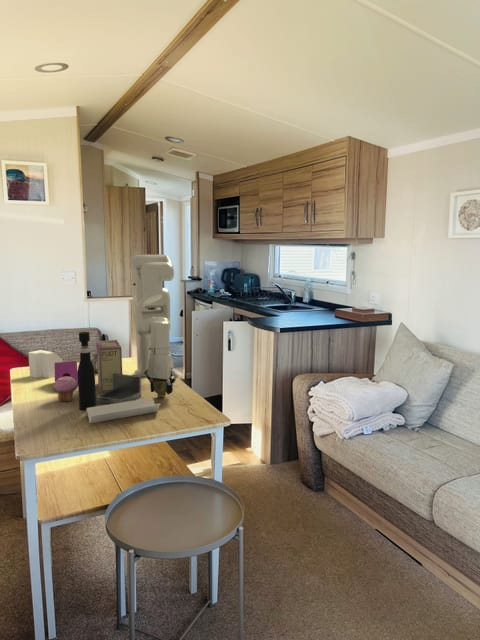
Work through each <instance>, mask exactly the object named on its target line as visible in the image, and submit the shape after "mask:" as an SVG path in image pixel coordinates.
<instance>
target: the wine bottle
mask: <svg viewBox="0 0 480 640" xmlns="http://www.w3.org/2000/svg"><path fill="white" fill-rule="evenodd" d="M78 341H79V343H80V344H81V347H80V352H79V357H80V358H79V359H80V360H79V363H78V365H77V371H78V387H77V389H78V391H77V392H78V405H79V407H78V408H79V410H80V411H82V412H86V409H87V408H90V407H96V406H97V403H96V396H97V391H96V388H97V387H96V371H95V369H94V367H93V364H92V361H91V360H92V359H91V352H90V351H91V350H90V347H89V342H90V341H91V338H90V331H80V332H78Z"/></svg>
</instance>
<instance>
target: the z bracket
mask: <svg viewBox="0 0 480 640" xmlns="http://www.w3.org/2000/svg"><path fill="white" fill-rule="evenodd" d="M160 407H161V403H156V404H155V400H154V397H148V398H139V399H137V400H134V401H128V402H121V403H115V404H109V405H107V404H102V405H96V407H90V408H87V409H86V411H85V413H84V417H88V421H89V424H95V423H100V422H102V423H103V422H106V421H112V420H117V419H123V418H130V417H135V416H140V415H147V414H152V413H158V410H159V408H160Z"/></svg>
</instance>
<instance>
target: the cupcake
mask: <svg viewBox="0 0 480 640" xmlns="http://www.w3.org/2000/svg"><path fill="white" fill-rule="evenodd" d="M53 387H54V390H56V392H57V399H58V401H59V402H71V401H72V400H73V396H74V392H75V390H76V389H77V388H78V387H77V382H76V380H75V379H74V378H72V377H68V376H65V377H61V378H59V379H58V380H57V381H56V382H55V381H54V384H53ZM76 387H77V388H76ZM75 388H76V389H75ZM74 389H75V390H74Z"/></svg>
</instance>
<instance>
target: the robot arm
mask: <svg viewBox="0 0 480 640" xmlns="http://www.w3.org/2000/svg"><path fill="white" fill-rule="evenodd" d="M130 267H131V271H132V273H133V275H134V278H135V285H136V286H135V288H136V289H135V290H136V291H135V292H136V304H137V305H136V308H135V310H134V315H133V324H134V328H135V329H134V330H135V336H136V339H135V340H136V360H137V369H136V370H134V376H141V377H146V379H147V380H148V383H150V392H151V393H155V391H154V388H153V381H152V379H154V378H157V379H166V380H167V383H168V385H167V393H166V395H170V394H172V393H173V391H174V388H173V386H174V384H175V382H176V381H177V379H178V378H179V377H180V375H179V374H178V373H177V372H176V371H175V370H174V361H173V357H172V353H171V350H170V349H171V347H170V346H171V345H170V342H171V341H170V339H171V338H170V331H171V295H170V294H171V293H170V292H169V290H168V289H167V288H166V287H163V283H162V282H171V281H173V280H174V277H175V269H174V265H173V263H172V260H171V259H170V257H169V256H168V255H166V254H136V255H133V256H131V259H130ZM152 308H153V309H152ZM154 308H155V309H154ZM156 308H157V309H156ZM158 308H159V309H158Z"/></svg>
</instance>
